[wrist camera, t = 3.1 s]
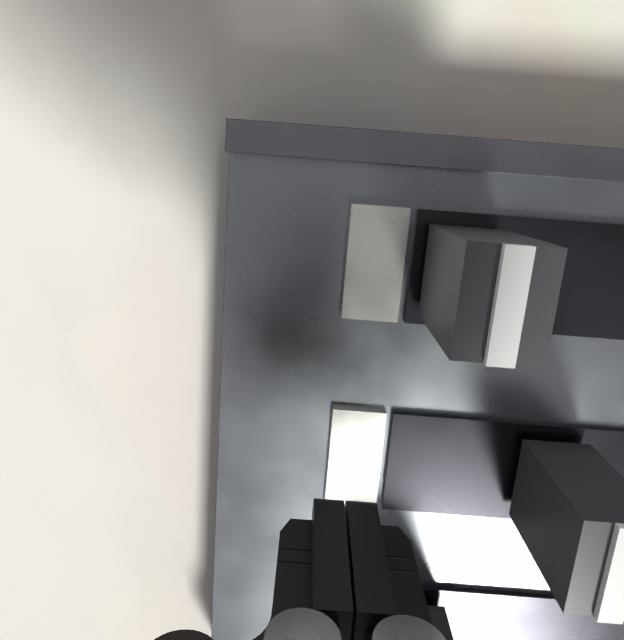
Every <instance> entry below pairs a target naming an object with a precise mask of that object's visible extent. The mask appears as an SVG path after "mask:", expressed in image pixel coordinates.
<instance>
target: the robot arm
mask: <svg viewBox="0 0 624 640" xmlns="http://www.w3.org/2000/svg"><path fill="white" fill-rule="evenodd" d="M155 640H213V639H212V638H211V637H209V636H208V635H206V634H204V633H202V632H199V631H195V630H177V631H172V632H169V633H166V634H164V635H161V636H160V637H158V638H156V639H155ZM253 640H446V639H445V638H444V636H443V635H442V633H441V632H440V631H439V630H438V629H437V628H435V627H434V626H433V625H432V622H431V618H430V614H429V610H428V607H427V603H426V599H425V595H424V591H423V587H422V583H421V579H420V575H419V574H418V567H417V564H416V561H415V556H414V552H413V548H412V544H411V541H410V540H409V538H408V537H407V536H406V535H405V534H404V532H403V531H402V530H401V529H400V528H399V527H398V526H388V525H381V523H380V518H379V512H378V507H377V503H374V502H361V501H347V500H346V502H345V505H344V500H332V499H318V498H314V500H313V509H312V520H304V519H291V518H290V520H289V521H288V522H287V523H286V525H285V526H284V527H283V528H282V530H281V531H280V537H279V546H278V556H277V566H276V575H275V585H274V594H273V604H272V614H271V618H270V621H269V623H268V625H267V627H266V628H265V629H264V631H263V632H262V633H261V634H260V635H258V636H257V637H256V638H254V639H253Z"/></svg>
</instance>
